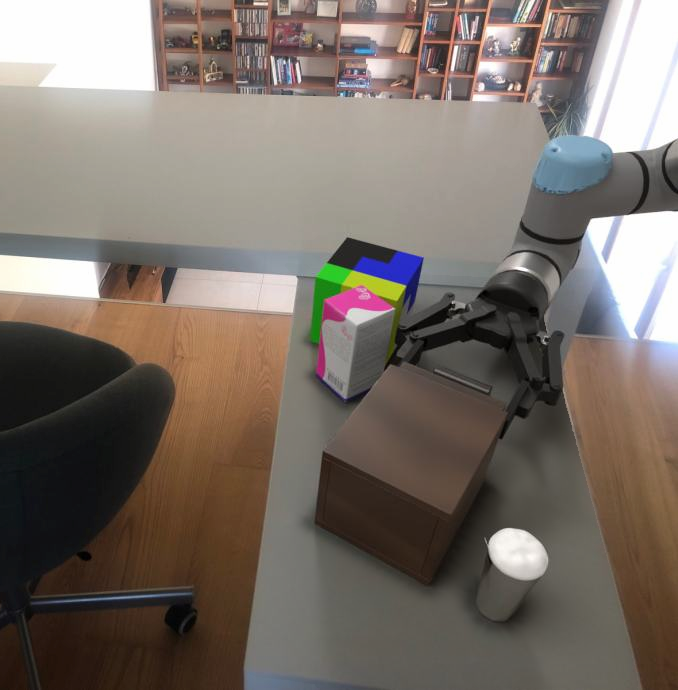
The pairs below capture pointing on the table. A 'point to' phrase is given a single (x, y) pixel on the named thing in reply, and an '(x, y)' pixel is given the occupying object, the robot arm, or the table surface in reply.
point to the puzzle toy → (369, 280)
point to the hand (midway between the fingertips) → (445, 405)
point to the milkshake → (509, 572)
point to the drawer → (457, 383)
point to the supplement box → (354, 342)
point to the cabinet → (406, 470)
